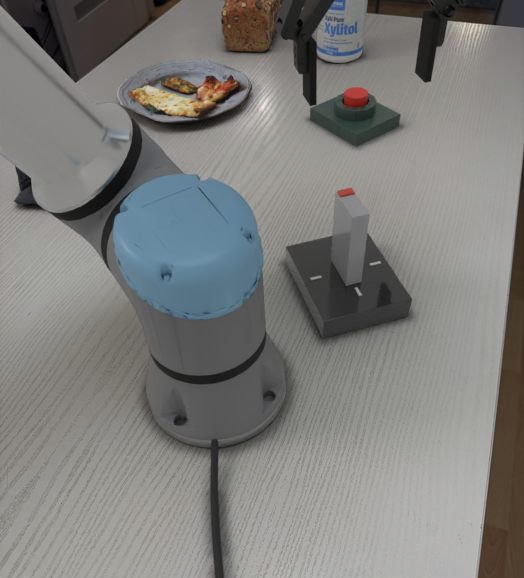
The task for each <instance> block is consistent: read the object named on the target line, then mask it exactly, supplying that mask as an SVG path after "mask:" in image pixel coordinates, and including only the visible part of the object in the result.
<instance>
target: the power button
mask: <svg viewBox="0 0 524 578" xmlns="http://www.w3.org/2000/svg"><path fill="white" fill-rule="evenodd" d="M343 93H344V105H346V106H349V107H363V106H365V105H367V101H368V93H369V91H368V89H366V88H364V87H358V86H354V87H349V88H347V89H345V90H344V92H343Z"/></svg>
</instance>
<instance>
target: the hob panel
mask: <svg viewBox="0 0 524 578" xmlns="http://www.w3.org/2000/svg"><path fill="white" fill-rule="evenodd" d="M332 236H333V235H329V236H325V237H321V238H317V239H312V240H308V241H304V242H300V243H296V244H291V245H285V261H286V262H285V263H286V266H287V268H288V270H289V273H290V274H291V276H292V278H293V280H294V282H295V284H296V286H297V289H298V290H299V292H300V293H299V294H300V295H301V297H302V299H303V301H304V303H305V305H306V307H307V310H308V311H309V313H310V316H311V317H312V319H313V322H314V323H315V325H316V328H317V329H318V331H319V333H320V336H321V338H322V339H326V338H330V337H335V336H338V335H342V334H346V333H350V332H353V331H357V330H361V329H366V328H368V327H372V326H376V325H381V324H384V323H388V322H392V321H395V320H401V319H404V318H407V317H409V315H410V312H411V311H410V310H411V306H412V302H413V298H412V296H411V295H410V293H409V292H408V290H407V289H406V287H405V286H404V284H403V283H402V282H401V280H400V279H399V277H398V275H397V274H396V273H395V271H394V270H393V268H392V267H391V265H390V264H389V262H388V260H387V259H386V258H385V256H384V255H383V253H382V252H381V250H380V249H379V247H378V246H377V244H376V243H375V241H374V240H373V238H372V237H371V235H370V234H369V233H368V232H367V240H366V248H365V256H364V264H363V272H362V280H361V282H360V283H356V284H352V285H348V286H346V285H345V283H344V282H343V280H342V278H341V276H340V275H339V273H338V271H337V269H336V268H335V266H334V264H333V263H332V261H331V252H332Z"/></svg>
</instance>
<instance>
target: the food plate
mask: <svg viewBox="0 0 524 578" xmlns="http://www.w3.org/2000/svg"><path fill="white" fill-rule="evenodd" d="M252 90H253V85H252V83H251V81H250V79H249V78H248V76H246V75H245V73H244V72H243V71H241V70H238V69H235V68H233V67H231V66H227V65H225V64H222V63H219V62H215V61H212V60H210V59H201V58H199V59H187V60H174V61H172V60H170V61H165V62H161V63H156V64H153V65H149V66H146V67H144V68H143V69H141V70H139V71H137V72H135V73H134V74H131V75H129V76H128V77H126V78H125V80H124V82H122V83H121V84H120V85H119V87H118V88H117V92H116V98H117V100H118V102H119V106H121V107H124V108H126V109H129V110H131V111H132V112H133V113H137V114H138V115H141V116H143V117H146V118H148V119H151V120H153V121H155V122H156V121H157V122H158V123H159V122H160V123H163V124H164V123H165V124H182V123H184V124H185V123H186V124H187V123H197V122H201V121H204V120H212V119H215V118H217V117H218V116H220V115H223V114H225V113H227V112H229V111H232V110H233V109H235V108H238V107H240V106H241V105H242V104H244V103H245V102H246V100H247V99H248V98H249V95H250V93H251V91H252Z"/></svg>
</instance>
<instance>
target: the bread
mask: <svg viewBox="0 0 524 578" xmlns="http://www.w3.org/2000/svg"><path fill="white" fill-rule="evenodd" d="M281 1H282V0H224V5H223V7H222V9H221V18H220V19H221V20H220V22H221V33H222V36H223V41H224V46H225V49H226V50H229V51H233V52H251V53H252V52H253V53H254V52H257V53H258V52H259V53H262V52H266V51H267V50H269V49H270V45H271V43H272V41H273V40H274V37H275V34H276V33H277V30H276V29H275V21H276V18H277V16H278V13H279V10H280V7H281V4H282V2H281Z"/></svg>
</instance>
